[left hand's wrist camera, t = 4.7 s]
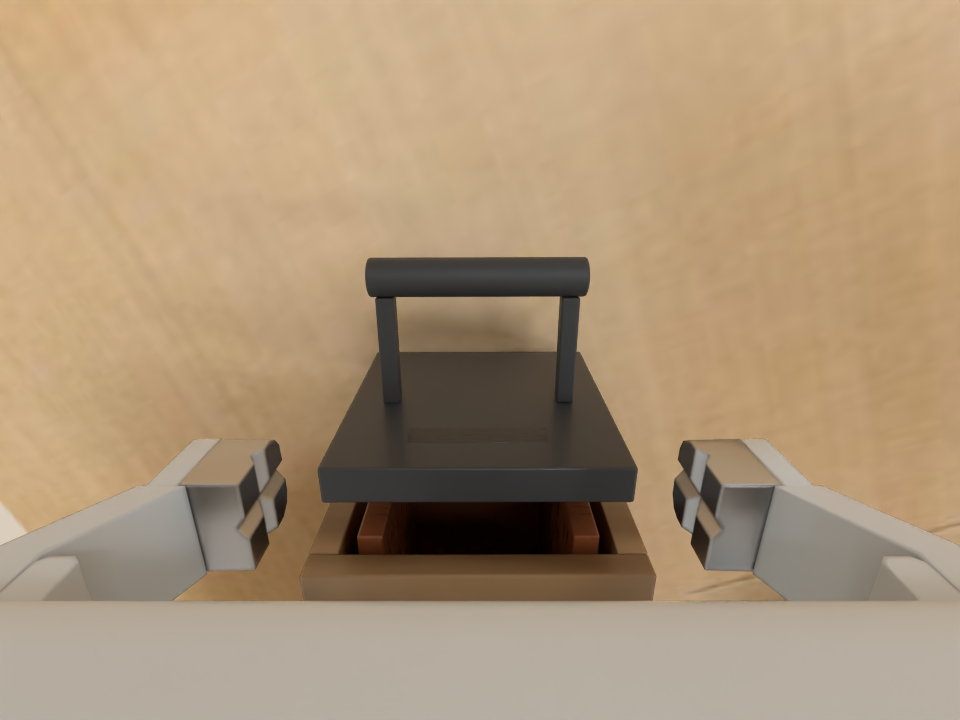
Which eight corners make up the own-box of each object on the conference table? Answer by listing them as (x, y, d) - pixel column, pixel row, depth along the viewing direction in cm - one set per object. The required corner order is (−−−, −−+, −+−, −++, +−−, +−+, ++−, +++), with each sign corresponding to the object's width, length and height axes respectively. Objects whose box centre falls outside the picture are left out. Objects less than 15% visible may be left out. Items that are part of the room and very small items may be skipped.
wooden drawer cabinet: (373, 401, 25) (298, 576, 15) (584, 401, 25) (657, 575, 15) (395, 643, 31) (352, 887, 21) (565, 643, 31) (607, 887, 21)
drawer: (367, 236, 21) (291, 292, 13) (588, 235, 21) (661, 291, 13) (398, 603, 29) (362, 796, 20) (561, 603, 29) (596, 796, 20)
